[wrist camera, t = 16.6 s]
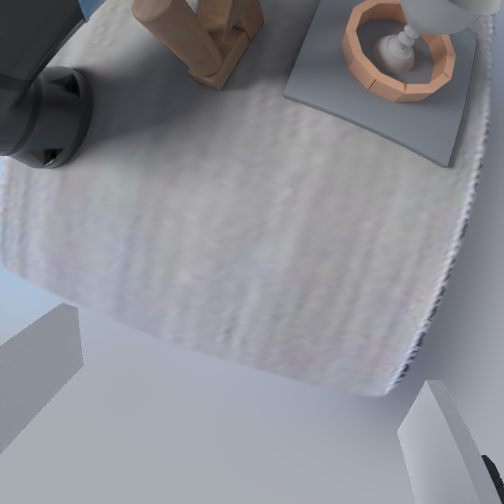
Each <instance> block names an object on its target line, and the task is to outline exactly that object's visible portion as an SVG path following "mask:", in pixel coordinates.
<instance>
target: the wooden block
mask: <svg viewBox="0 0 504 504" xmlns="http://www.w3.org/2000/svg"><path fill="white" fill-rule="evenodd" d="M132 12H133V16H134V17H135V18H136V19H137V20H138V21H139V22H140V23H141V24H142V25H143V26H145V27H146V28H147V29H148V30H149V31H150V32H151V33H153V34H154V35H155V36H156V37H157V38H158V39H159V40H160V41H161V42H162V43H164V44H165V45H166V46H167V47H168V48H169V49H170V50H171V51H172V52H173V53H174V54H175V55H177V56H178V57H179V58H180V59H181V60H182V61H183V62H184V63H185V64H186V65H187V66H188V67H189V69H188V74H189V75H190V76H192V77H193V78H194V79H195V80H196V81H197V82H199V83H202V84H204V85H207V86H209V87H211V88H214V89H216V90H220V91H221V90H222V88H223V87H224V85H225V83H226V81H227V80H228V78H229V76H230V75H231V73H232V71H233V70H234V68H235V66H236V65H237V63H238V62H239V60H240V58H241V57H242V55H243V53H244V52H245V50H246V49H247V47H248V46H249V42H250V41H252V39H253V38H254V36H255V35H256V33H257V32H258V30H259V29H260V27H261V26H262V24H263V23H264V20H263V16H262V12H261V8H260V4H259V1H258V0H199V1H198V7H197V12H196V15H195V13H194V12H193V10H192V9H191V7H190V6H189V5H188V3H187V2H186V0H134V2H133V5H132Z"/></svg>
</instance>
